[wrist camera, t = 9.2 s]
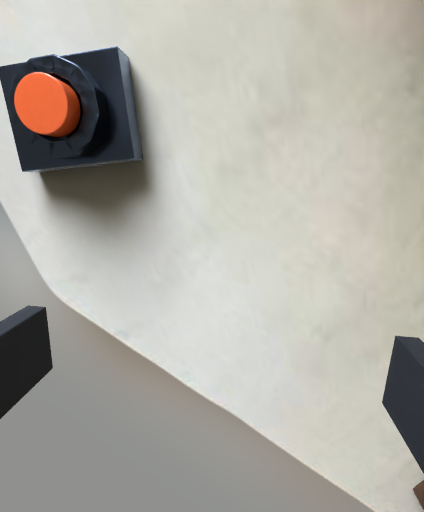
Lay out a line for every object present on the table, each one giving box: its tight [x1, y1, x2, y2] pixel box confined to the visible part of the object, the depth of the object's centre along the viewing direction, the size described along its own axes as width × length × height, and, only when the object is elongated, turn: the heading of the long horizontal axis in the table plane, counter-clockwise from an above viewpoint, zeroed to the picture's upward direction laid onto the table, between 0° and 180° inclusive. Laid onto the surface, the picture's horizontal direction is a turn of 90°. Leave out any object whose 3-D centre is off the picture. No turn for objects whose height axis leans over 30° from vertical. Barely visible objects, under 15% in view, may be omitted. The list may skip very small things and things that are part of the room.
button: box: [14, 72, 81, 137], centre depth 22 cm, size 4×4×2 cm
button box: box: [0, 47, 143, 172], centre depth 25 cm, size 10×8×4 cm
